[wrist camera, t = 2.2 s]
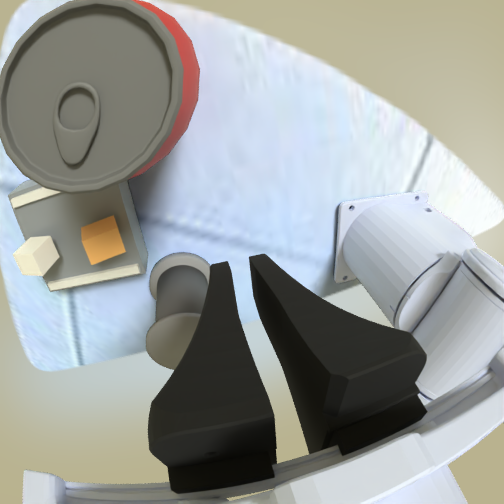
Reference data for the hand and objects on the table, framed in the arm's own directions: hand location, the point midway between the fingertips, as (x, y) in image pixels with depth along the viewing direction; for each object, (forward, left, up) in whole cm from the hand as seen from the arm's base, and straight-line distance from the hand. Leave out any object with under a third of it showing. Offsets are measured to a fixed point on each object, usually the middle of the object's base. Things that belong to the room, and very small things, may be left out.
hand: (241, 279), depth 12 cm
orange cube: (+8, 0, -8) cm, 11 cm away
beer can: (+4, -8, -11) cm, 14 cm away
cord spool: (+4, +7, -10) cm, 13 cm away
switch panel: (+10, 0, -10) cm, 14 cm away
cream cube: (+12, 0, -8) cm, 14 cm away
